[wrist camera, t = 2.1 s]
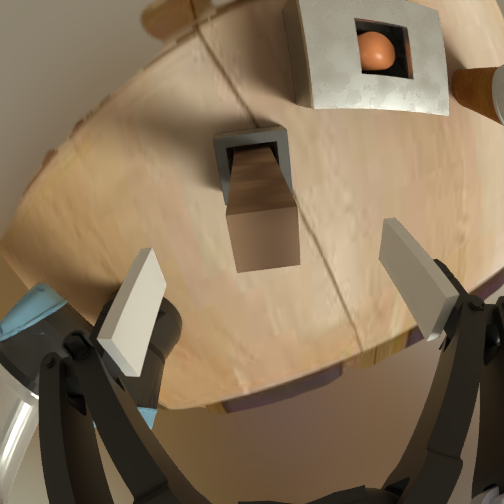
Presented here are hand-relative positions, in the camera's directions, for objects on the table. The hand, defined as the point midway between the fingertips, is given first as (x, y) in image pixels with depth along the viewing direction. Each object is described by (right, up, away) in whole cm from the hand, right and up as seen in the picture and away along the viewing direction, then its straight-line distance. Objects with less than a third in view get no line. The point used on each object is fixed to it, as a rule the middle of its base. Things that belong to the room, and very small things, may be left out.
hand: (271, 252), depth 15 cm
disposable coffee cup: (+31, +25, +11) cm, 42 cm away
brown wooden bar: (-1, +12, +18) cm, 21 cm away
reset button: (+11, +22, +8) cm, 26 cm away
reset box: (+11, +24, +10) cm, 29 cm away
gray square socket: (-1, +11, +18) cm, 21 cm away
